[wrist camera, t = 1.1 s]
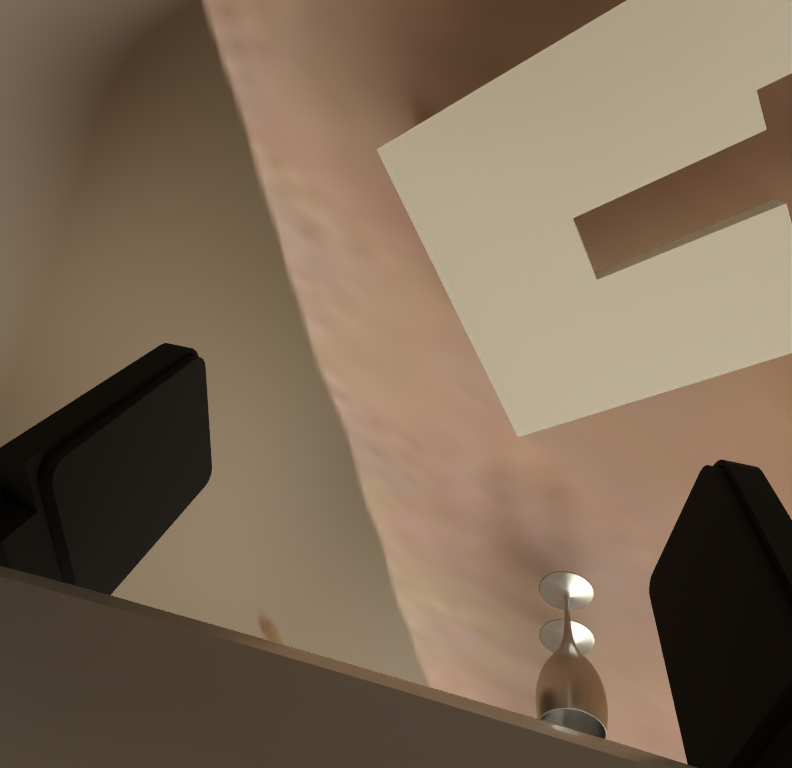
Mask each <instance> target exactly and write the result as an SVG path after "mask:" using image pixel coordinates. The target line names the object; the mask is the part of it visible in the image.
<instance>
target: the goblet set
mask: <svg viewBox="0 0 792 768" xmlns="http://www.w3.org/2000/svg"><path fill="white" fill-rule="evenodd" d="M539 591H540V594H541V596H542V598H543V599H544V600H545V601H546V602H547V603H548V604H550V605H551V606H553V607H556V608H558V609H563V610H564V619H558V620H553V621H550V622H548V623H546V624H545V625H544V626H543V627H542V628H541V630H540V640H541V642H542V643H543V645H544V646H545V647H546V648H547V649H549V650H550V651H552V652H554V653H553V654H552V655H551V656H550V657H549V659H548V660H547V661H546V662H545V664H544V665H543V667H542V669H541V672H540V674H539V678H538V682H537V687H536V710H537V717H538V719H539V720H542V721H545V722H549V723H552V724H556V725H559V726H562V727H566V728H569V729H572V730H576V731H579V732H583V733H586V734H589V735H593V736H596V737H600V738H603V739H606V735H607V723H608V708H607V700H606V695H605V691H604V687H603V684H602V682H601V679H600V677H599V675H598V673H597V671H596V670H595V668H594V667H593V665H592V664H591V663H590V662H589V661H588V659H587V658H586V657H585V656H584V655H583V654H585V653H587V652H588V651H590V650H591V648H592V647H593V645H594V636H593V634H592V632H591V631H590V630H589V629H588V628H587V627H586V626H584V625H583V624H581V623H579V622H576V621H573V620H570V611H569V610H576V609H580V608H583V607H585V606H586V605H588V604H589V603H590V602H591V600H592V598H593V594H594V592H593V588H592V586H591V584H590V583H589V581H588V580H586V579H585V578H584V577H582V576H580V575H578V574H576V573H572V572H564V571H563V572H555V573H552V574H549V575H547V576H546V577H545V578H544V579H543V580H542V581H541V583H540V586H539Z"/></svg>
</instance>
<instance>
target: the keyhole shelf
mask: <svg viewBox="0 0 792 768" xmlns="http://www.w3.org/2000/svg"><path fill="white" fill-rule="evenodd" d="M791 73H792V0H626V1H625V2H623V3H621V4H620V5H618V6H616V7H615V8H613V9H611V10H609V11H608V12H606V13H604V14H603V15H601V16H599V17H598V18H596V19H594V20H593V21H591V22H589V23H588V24H586V25H584V26H583V27H581V28H579V29H578V30H576V31H574V32H573V33H571V34H569V35H568V36H566V37H564V38H563V39H561V40H559V41H558V42H556V43H554V44H553V45H551V46H549V47H547V48H546V49H544V50H542V51H541V52H539V53H537V54H536V55H534V56H532V57H531V58H529V59H527V60H526V61H524V62H522V63H521V64H519V65H517V66H516V67H514V68H512V69H511V70H509V71H507V72H506V73H504V74H502V75H501V76H499V77H497V78H496V79H494V80H492V81H490V82H489V83H487V84H485V85H484V86H482V87H480V88H479V89H477V90H475V91H474V92H472V93H470V94H469V95H467V96H465V97H464V98H462V99H460V100H459V101H457V102H455V103H454V104H452V105H450V106H449V107H447V108H445V109H444V110H442V111H440V112H439V113H437V114H435V115H433V116H432V117H430V118H428V119H427V120H425V121H423V122H422V123H420V124H418V125H417V126H415V127H413V128H412V129H410V130H408V131H407V132H405V133H403V134H402V135H400V136H398V137H397V138H395V139H393V140H392V141H390V142H388V143H387V144H385V145H383V146H382V147H380V148H378V149H377V152H378V154H379V156H380V158H381V160H382V162H383V164H384V166H385V168H386V170H387V172H388V174H389V176H390V178H391V180H392V182H393V184H394V186H395V188H396V190H397V192H398V194H399V196H400V198H401V200H402V202H403V205H404V207H405V209H406V211H407V213H408V215H409V217H410V219H411V221H412V223H413V225H414V227H415V229H416V231H417V233H418V235H419V237H420V239H421V241H422V243H423V245H424V247H425V249H426V251H427V253H428V255H429V257H430V259H431V261H432V263H433V265H434V268H435V270H436V272H437V274H438V276H439V278H440V280H441V282H442V284H443V286H444V288H445V290H446V292H447V294H448V296H449V298H450V300H451V302H452V304H453V306H454V308H455V310H456V312H457V314H458V316H459V318H460V320H461V322H462V324H463V326H464V328H465V331H466V333H467V335H468V337H469V339H470V341H471V343H472V345H473V347H474V349H475V351H476V353H477V355H478V357H479V359H480V361H481V363H482V365H483V367H484V369H485V371H486V373H487V375H488V377H489V379H490V381H491V383H492V385H493V387H494V389H495V392H496V394H497V396H498V398H499V400H500V402H501V404H502V406H503V408H504V410H505V412H506V414H507V416H508V418H509V420H510V422H511V424H512V426H513V428H514V430H515V432H516V434H517V436H518V437H520V436H523V435H527V434H530V433H533V432H536V431H540V430H543V429H546V428H550V427H553V426H556V425H559V424H563V423H566V422H569V421H572V420H576V419H579V418H582V417H585V416H589V415H592V414H595V413H598V412H602V411H605V410H608V409H611V408H615V407H618V406H621V405H624V404H628V403H631V402H634V401H637V400H641V399H644V398H647V397H650V396H654V395H657V394H660V393H664V392H667V391H670V390H673V389H677V388H680V387H683V386H686V385H690V384H693V383H696V382H699V381H703V380H706V379H709V378H712V377H716V376H719V375H722V374H725V373H729V372H732V371H735V370H738V369H742V368H745V367H748V366H751V365H755V364H758V363H761V362H764V361H768V360H771V359H774V358H778V357H781V356H784V355H787V354H791V353H792V223H791V219H790V215H789V211H788V207H787V204H786V203H785V202H782V201H780V200H777V199H773V200H771V201H768V202H766V203H763V204H761V205H759V206H756V207H754V208H751V209H749V210H746V211H744V212H742V213H739V214H737V215H734V216H732V217H729V218H727V219H724V220H722V221H720V222H717V223H715V224H712V225H710V226H707V227H705V228H703V229H700V230H698V231H695V232H693V233H690V234H688V235H686V236H683V237H681V238H678V239H676V240H673V241H671V242H668V243H666V244H664V245H661V246H659V247H656V248H654V249H651V250H649V251H647V252H644V253H642V254H639V255H637V256H634V257H632V258H629V259H627V260H625V261H622V262H620V263H617V264H615V265H612V266H610V267H608V268H605V269H603V270H600V271H598V272H594V269H593V267H592V264H591V262H590V259H589V257H588V254H587V252H586V249H585V247H584V244H583V242H582V239H581V236H580V234H579V231H578V229H577V226H576V224H575V221H574V219H573V218H575V217H577V216H579V215H581V214H584V213H586V212H588V211H590V210H592V209H594V208H597V207H599V206H601V205H603V204H605V203H608V202H610V201H612V200H614V199H616V198H618V197H621V196H623V195H625V194H627V193H629V192H632V191H634V190H636V189H638V188H640V187H643V186H645V185H647V184H649V183H651V182H653V181H656V180H658V179H660V178H662V177H664V176H667V175H669V174H671V173H673V172H675V171H677V170H680V169H682V168H684V167H686V166H688V165H691V164H693V163H695V162H697V161H699V160H701V159H704V158H706V157H708V156H710V155H712V154H715V153H717V152H719V151H721V150H723V149H726V148H728V147H730V146H732V145H734V144H736V143H739V142H741V141H743V140H745V139H747V138H750V137H752V136H754V135H756V134H758V133H760V132H763V131H765V130H767V128H766V124H765V121H764V117H763V113H762V109H761V105H760V102H759V98H758V94H757V90H758V89H760V88H762V87H764V86H766V85H768V84H770V83H772V82H775V81H777V80H779V79H781V78H783V77H785V76H787V75H789V74H791Z"/></svg>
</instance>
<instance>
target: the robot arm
mask: <svg viewBox="0 0 792 768" xmlns="http://www.w3.org/2000/svg"><path fill="white" fill-rule="evenodd" d="M211 462H212V461H211V447H210V430H209V415H208V400H207V385H206V370H205V362H204V360H203V359H202V358H200V357H198V354H197V352H196V351H195V350H194V349H192V348H187V347H183V346H178V345H173V344H168V343H164V344H162V345H160V346H158V347H157V348H155V349H154V350H152V351H150V352H149V353H147V354H146V355H144V356H143V357H141V358H140V359H138V360H137V361H135V362H133V363H132V364H130V365H129V366H127V367H125V368H124V369H123V370H121V371H119V372H118V373H116V374H115V375H113V376H111V377H110V378H108V379H107V380H105V381H104V382H102V383H100V384H99V385H97V386H96V387H94V388H93V389H91V390H90V391H88V392H87V393H85V394H83V395H82V396H80V397H79V398H77V399H76V400H74V401H72V402H71V403H69V404H68V405H66V406H65V407H63V408H62V409H60V410H59V411H57V412H55V413H54V414H52V415H50V416H49V417H48V418H46V419H44V420H43V421H41V422H40V423H38V424H37V425H35V426H33V427H32V428H30V429H29V430H27V431H26V432H24V433H22V434H21V435H20V436H18V437H16V438H15V439H13V440H12V441H10V442H8V443H7V444H5V445H4V446H2V447H1V448H0V768H792V520H791V518H790V516H789V515H788V513H787V512H786V510H785V508H784V507H783V505H782V503H781V502H780V500H779V498H778V497H777V495H776V493H775V492H774V490H773V489H772V487H771V485H770V484H769V482H768V480H767V479H766V477H765V475H764V474H763V472H762V471H761V470H760V469H759V468H758V467H755V466H750V465H745V464H740V463H735V462H731V461H726V460H719V461H717V462H716V463H715V464H714V466H709V465H706V466H704V467H703V468H702V470H701V471H700V473H699V475H698V477H697V480H696V482H695V484H694V486H693V488H692V490H691V492H690V495H689V497H688V499H687V501H686V503H685V505H684V507H683V509H682V512H681V514H680V516H679V518H678V520H677V522H676V524H675V526H674V529H673V531H672V533H671V535H670V537H669V539H668V541H667V544H666V546H665V548H664V550H663V552H662V554H661V556H660V558H659V561H658V563H657V565H656V567H655V569H654V571H653V573H652V576H651V580H650V586H649V594H650V599H651V604H652V608H653V613H654V617H655V621H656V626H657V630H658V635H659V639H660V644H661V648H662V652H663V657H664V661H665V666H666V670H667V674H668V679H669V683H670V688H671V692H672V697H673V701H674V705H675V710H676V714H677V719H678V723H679V727H680V732H681V736H682V741H683V745H684V750H685V754H686V758H687V763H688V765H687V764H684V763H681V762H678V761H674V760H671V759H668V758H665V757H662V756H658V755H655V754H652V753H649V752H646V751H642V750H639V749H636V748H633V747H630V746H626V745H623V744H620V743H616V742H613V741H610V740H606V739H603V738H600V737H596V736H593V735H589V734H586V733H583V732H579V731H576V730H572V729H569V728H566V727H562V726H559V725H556V724H552V723H549V722H545V721H542V720H539V719H535V718H532V717H529V716H525V715H522V714H518V713H515V712H512V711H508V710H505V709H502V708H498V707H495V706H491V705H488V704H485V703H481V702H478V701H475V700H471V699H468V698H464V697H461V696H458V695H454V694H451V693H447V692H444V691H441V690H437V689H434V688H430V687H427V686H424V685H420V684H416V683H413V682H410V681H406V680H403V679H399V678H396V677H392V676H389V675H386V674H382V673H379V672H375V671H372V670H368V669H365V668H362V667H358V666H355V665H351V664H348V663H345V662H341V661H338V660H334V659H331V658H327V657H324V656H320V655H317V654H313V653H310V652H306V651H303V650H300V649H296V648H293V647H289V646H286V645H282V644H279V643H275V642H272V641H268V640H265V639H262V638H258V637H254V636H251V635H248V634H244V633H240V632H237V631H234V630H230V629H227V628H223V627H220V626H216V625H213V624H209V623H206V622H202V621H198V620H195V619H192V618H188V617H185V616H181V615H177V614H174V613H170V612H167V611H163V610H160V609H156V608H153V607H149V606H146V605H142V604H139V603H135V602H132V601H128V600H125V599H121V598H118V597H114V596H111V594H112V593H113V591H114V590H115V589H116V588H117V587H118V586H119V585H120V583H121V582H122V581H123V580H124V579H125V578H126V577H127V575H128V574H129V573H130V572H131V571H132V570H133V568H134V567H135V566H136V565H137V564H138V563H139V561H140V560H141V559H142V558H143V557H144V556H145V555H146V553H147V552H148V551H149V550H150V549H151V548H152V547H153V545H154V544H155V543H156V542H157V541H158V540H159V539H160V537H161V536H162V535H163V534H164V533H165V531H166V530H167V529H168V528H169V527H170V526H171V525H172V524H173V522H174V521H175V520H176V519H177V518H178V517H179V516H180V514H181V513H182V512H183V511H184V510H185V509H186V508H187V506H188V505H189V504H190V503H191V502H192V500H193V499H194V498H195V497H196V496H197V495H198V494H199V493H200V491H201V490H202V489H203V488H204V487H205V486H206V484H207V483H208V481H209V479H210V475H211V471H212V463H211Z"/></svg>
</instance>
